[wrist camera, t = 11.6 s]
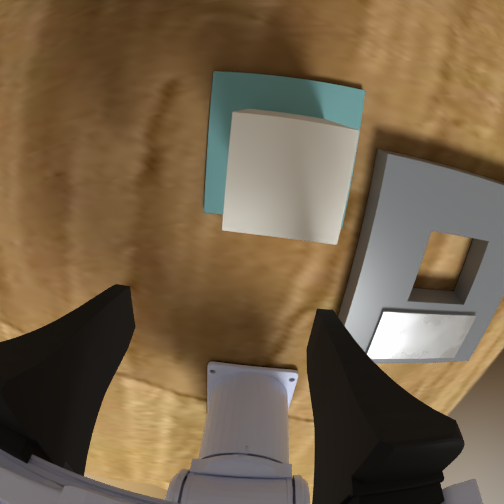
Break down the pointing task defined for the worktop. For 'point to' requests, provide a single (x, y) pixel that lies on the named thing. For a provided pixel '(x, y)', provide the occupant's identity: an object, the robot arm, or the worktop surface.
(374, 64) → the worktop surface
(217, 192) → the mat
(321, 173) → the plug
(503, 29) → the worktop surface
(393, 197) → the grey slotted board
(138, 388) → the worktop surface
